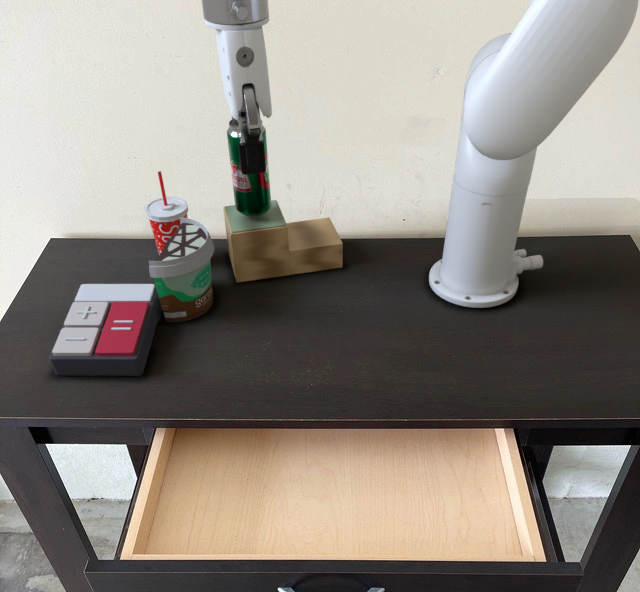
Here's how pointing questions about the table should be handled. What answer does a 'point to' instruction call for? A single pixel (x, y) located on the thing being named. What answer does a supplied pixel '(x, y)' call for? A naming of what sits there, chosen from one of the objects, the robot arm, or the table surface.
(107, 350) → the calculator
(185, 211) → the beverage cup
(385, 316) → the table surface
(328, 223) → the riser
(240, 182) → the soda can
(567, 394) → the table surface
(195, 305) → the food container
